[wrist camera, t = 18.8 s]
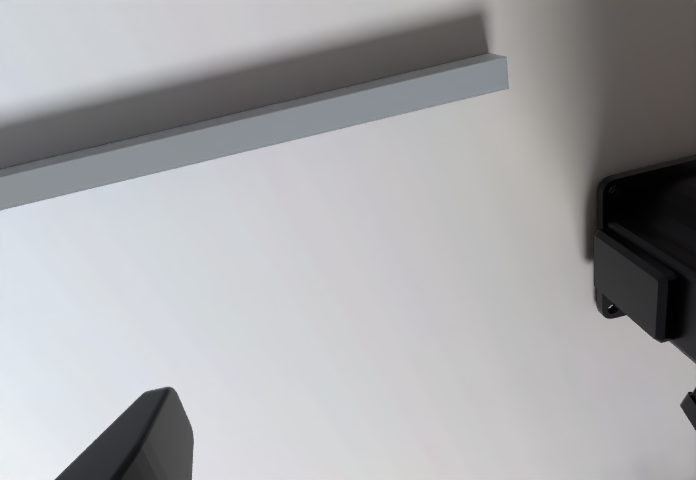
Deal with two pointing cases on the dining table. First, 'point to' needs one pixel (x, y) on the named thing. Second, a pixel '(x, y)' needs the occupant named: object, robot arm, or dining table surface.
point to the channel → (251, 129)
